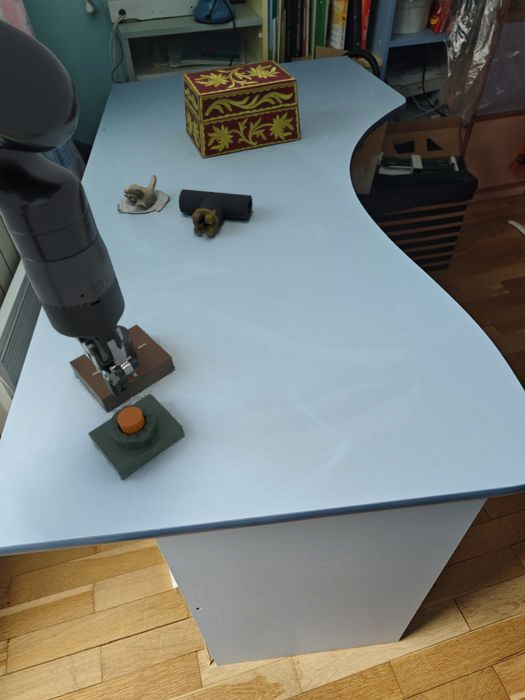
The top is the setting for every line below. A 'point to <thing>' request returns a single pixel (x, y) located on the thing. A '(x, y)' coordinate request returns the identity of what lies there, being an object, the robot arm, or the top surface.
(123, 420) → the button
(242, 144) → the decorative box
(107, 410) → the dial base block
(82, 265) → the robot arm
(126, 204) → the tan irregular piece
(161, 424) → the button box
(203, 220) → the pipe connector
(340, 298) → the top surface
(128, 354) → the dial knob
